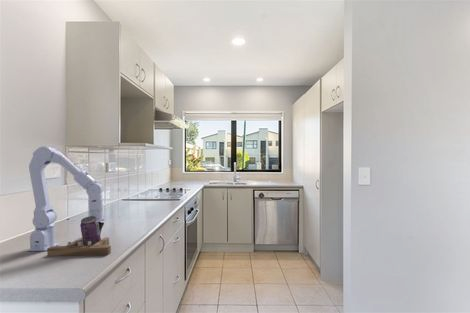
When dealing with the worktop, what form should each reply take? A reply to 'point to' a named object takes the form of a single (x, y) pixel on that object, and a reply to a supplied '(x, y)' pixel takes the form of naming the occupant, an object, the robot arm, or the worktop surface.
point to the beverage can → (90, 230)
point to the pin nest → (81, 248)
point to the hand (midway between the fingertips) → (96, 239)
